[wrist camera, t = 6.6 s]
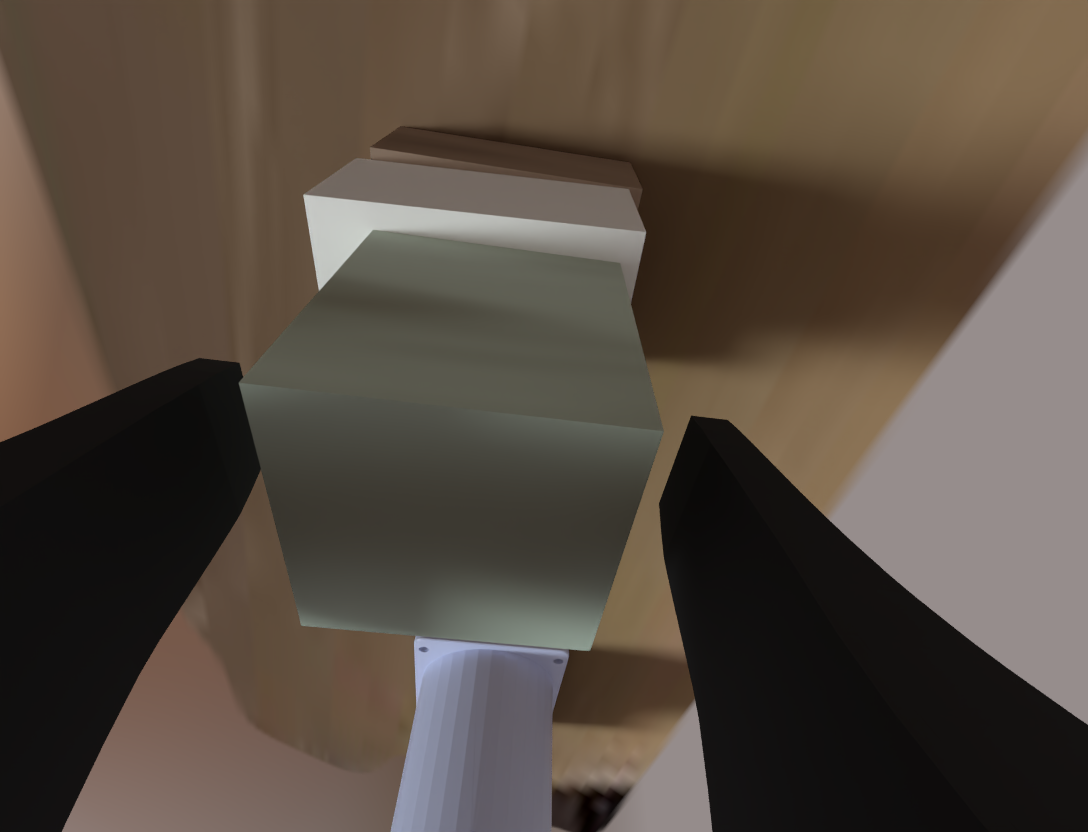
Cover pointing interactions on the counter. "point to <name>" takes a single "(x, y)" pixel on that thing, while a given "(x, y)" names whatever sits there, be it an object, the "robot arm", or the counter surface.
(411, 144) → the base slab
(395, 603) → the green block
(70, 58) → the counter surface
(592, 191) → the top slab
